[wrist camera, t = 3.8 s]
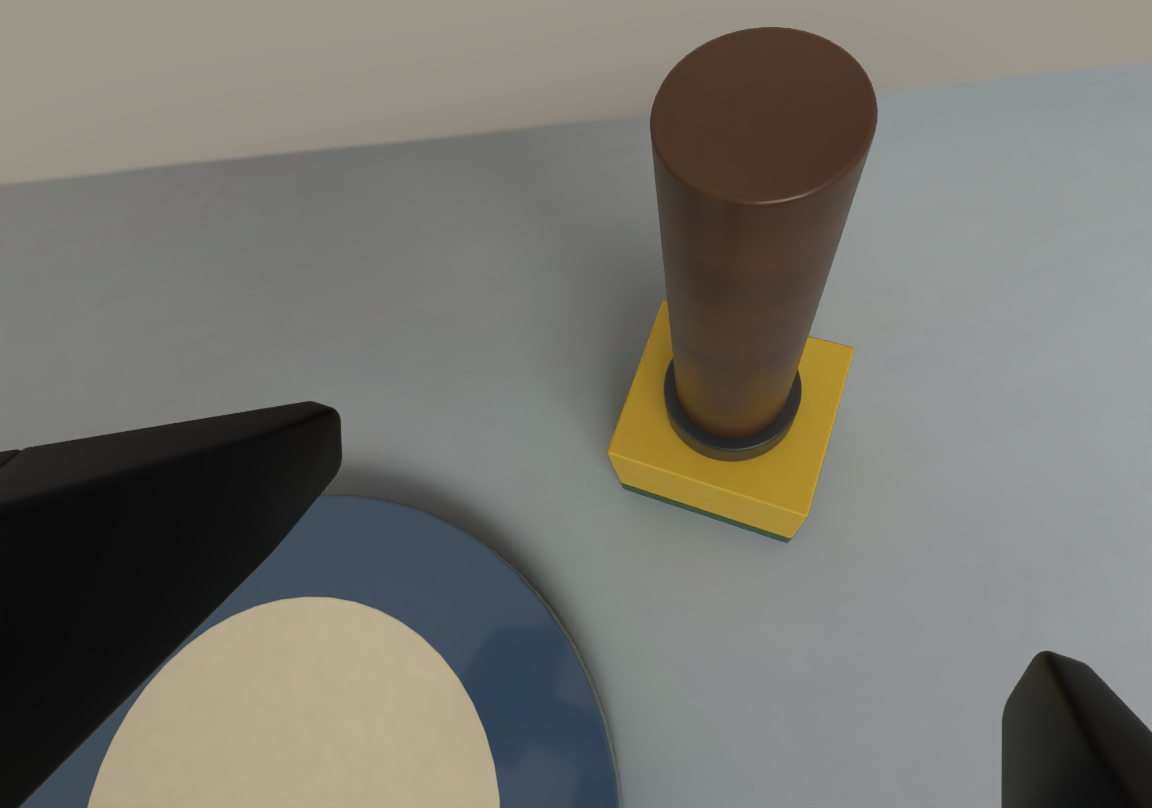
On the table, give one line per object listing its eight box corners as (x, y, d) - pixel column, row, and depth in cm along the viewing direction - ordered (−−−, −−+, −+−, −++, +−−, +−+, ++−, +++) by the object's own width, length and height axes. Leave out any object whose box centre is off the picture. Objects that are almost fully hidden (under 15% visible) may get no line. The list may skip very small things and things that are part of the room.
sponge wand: (787, 543, 20) (947, 330, 7) (622, 489, 21) (497, 224, 8) (828, 401, 21) (1029, -8, 8) (669, 358, 22) (624, -53, 9)
